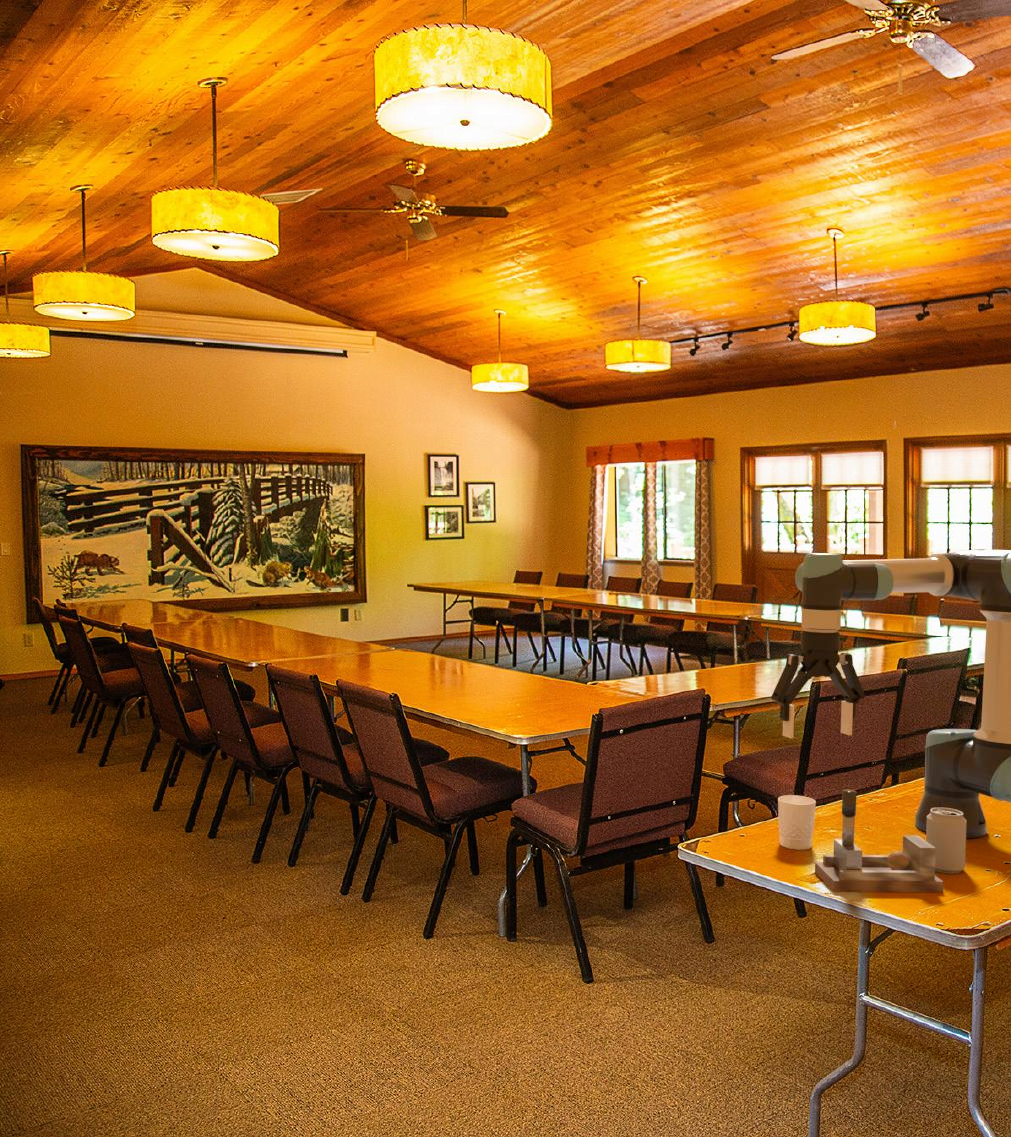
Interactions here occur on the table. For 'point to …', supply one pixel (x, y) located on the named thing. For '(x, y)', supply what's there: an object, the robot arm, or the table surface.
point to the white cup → (796, 821)
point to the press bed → (886, 871)
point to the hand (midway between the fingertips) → (817, 735)
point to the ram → (847, 836)
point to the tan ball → (898, 861)
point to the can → (947, 839)
